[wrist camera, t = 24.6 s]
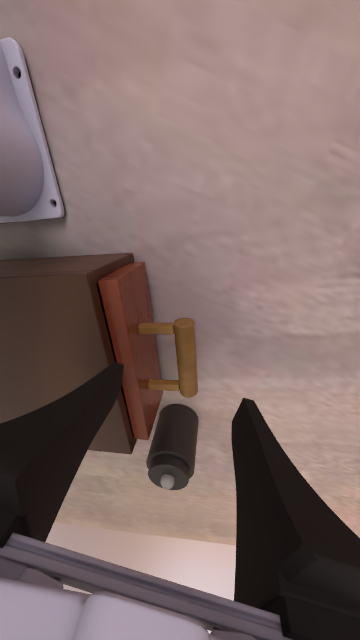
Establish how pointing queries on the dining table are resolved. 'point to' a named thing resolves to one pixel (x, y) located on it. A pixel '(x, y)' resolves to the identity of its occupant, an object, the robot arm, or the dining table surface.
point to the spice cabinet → (57, 337)
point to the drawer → (143, 345)
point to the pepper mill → (173, 447)
